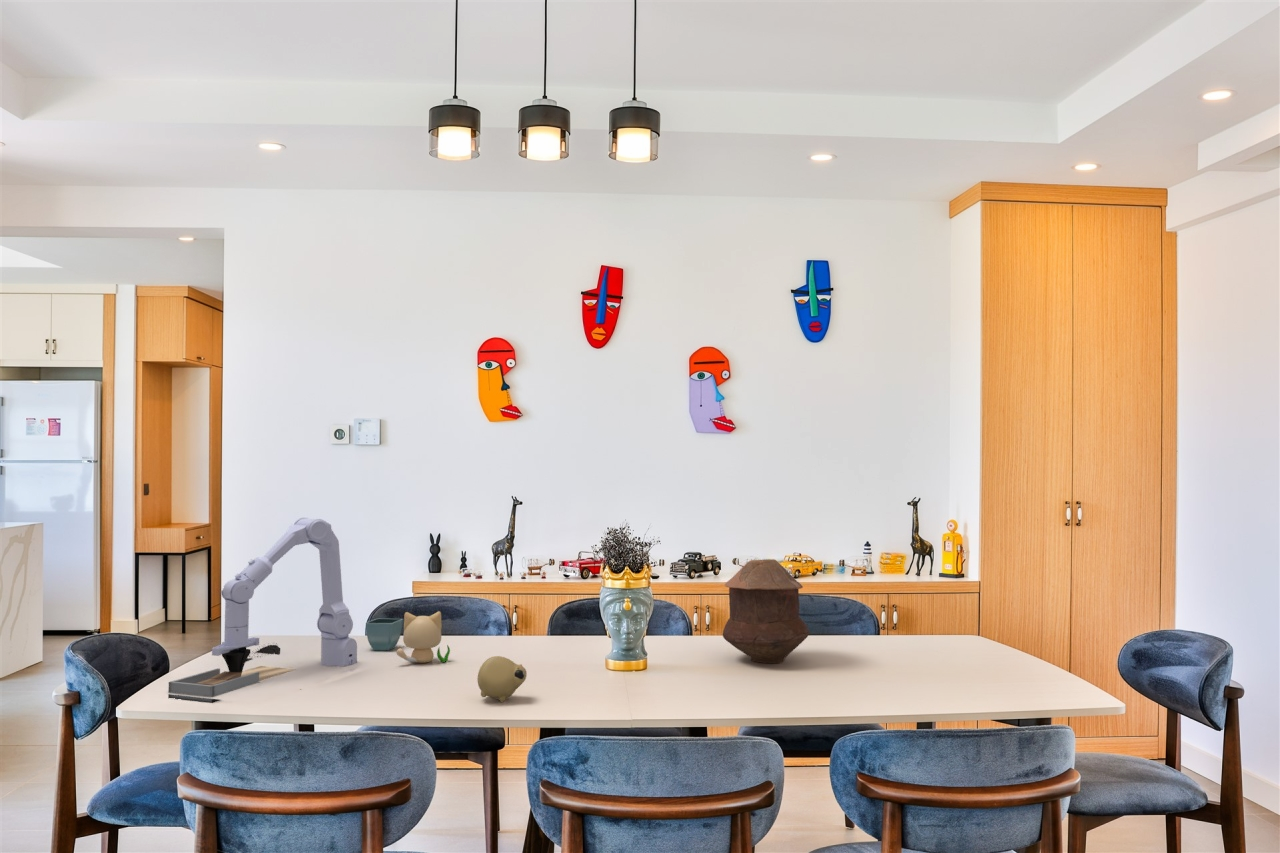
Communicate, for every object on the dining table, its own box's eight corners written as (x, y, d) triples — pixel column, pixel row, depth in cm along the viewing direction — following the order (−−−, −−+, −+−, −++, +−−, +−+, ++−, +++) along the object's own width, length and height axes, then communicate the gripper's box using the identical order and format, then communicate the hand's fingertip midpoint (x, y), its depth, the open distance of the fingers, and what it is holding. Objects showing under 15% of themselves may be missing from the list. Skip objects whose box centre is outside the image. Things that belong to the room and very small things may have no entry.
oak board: (295, 674, 244) (295, 669, 244) (256, 687, 230) (256, 681, 230) (260, 671, 248) (260, 665, 248) (219, 683, 234) (219, 678, 234)
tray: (258, 687, 230) (259, 672, 230) (211, 703, 215) (212, 686, 215) (217, 683, 234) (217, 668, 234) (168, 698, 219) (168, 682, 219)
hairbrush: (213, 663, 247) (261, 641, 272) (213, 677, 247) (261, 653, 272) (241, 664, 246) (286, 642, 271) (241, 678, 246) (286, 654, 271)
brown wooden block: (241, 683, 230) (240, 672, 229) (227, 691, 225) (226, 679, 225) (225, 682, 231) (224, 671, 231) (211, 689, 226) (210, 678, 226)
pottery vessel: (802, 673, 247) (801, 565, 248) (713, 666, 255) (713, 562, 257) (814, 654, 271) (813, 556, 273) (733, 649, 280) (732, 554, 281)
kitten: (450, 657, 266) (451, 607, 267) (449, 665, 256) (449, 613, 257) (399, 659, 264) (400, 609, 264) (396, 667, 254) (396, 614, 255)
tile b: (227, 691, 224) (227, 679, 224) (212, 696, 219) (212, 684, 219) (211, 690, 225) (211, 678, 225) (196, 695, 221) (196, 683, 221)
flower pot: (376, 646, 283) (377, 617, 284) (402, 646, 282) (403, 618, 283) (364, 651, 275) (365, 622, 275) (391, 652, 273) (391, 623, 274)
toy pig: (524, 705, 214) (524, 660, 214) (474, 705, 214) (474, 660, 214) (528, 694, 224) (528, 652, 224) (480, 694, 224) (481, 652, 224)
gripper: (244, 620, 240) (243, 670, 239) (202, 629, 226) (201, 683, 226) (265, 621, 238) (264, 672, 237) (225, 631, 224) (223, 685, 223)
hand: (235, 678), depth 231 cm, fingers closed
